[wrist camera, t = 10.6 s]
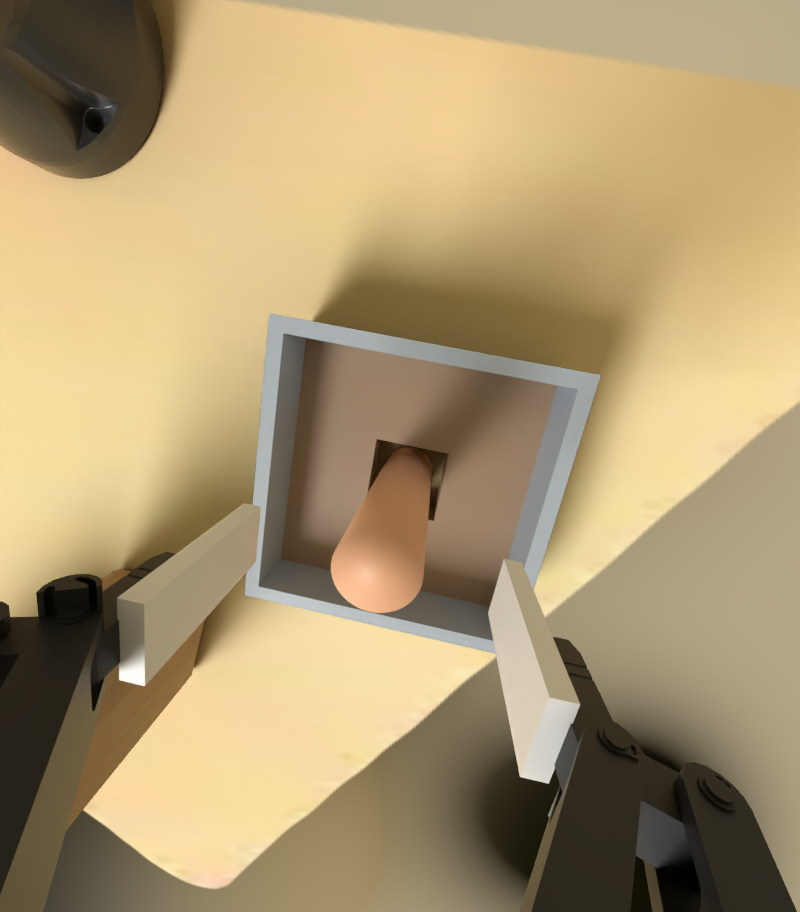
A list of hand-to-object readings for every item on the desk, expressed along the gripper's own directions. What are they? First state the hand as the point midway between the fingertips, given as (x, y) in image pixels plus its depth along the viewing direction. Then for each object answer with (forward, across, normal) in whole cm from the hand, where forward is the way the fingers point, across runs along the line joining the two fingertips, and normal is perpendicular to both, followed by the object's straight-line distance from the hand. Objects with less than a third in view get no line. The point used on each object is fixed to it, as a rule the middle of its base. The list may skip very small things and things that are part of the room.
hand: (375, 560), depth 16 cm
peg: (+16, 0, -1) cm, 16 cm away
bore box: (+16, 0, -1) cm, 16 cm away
